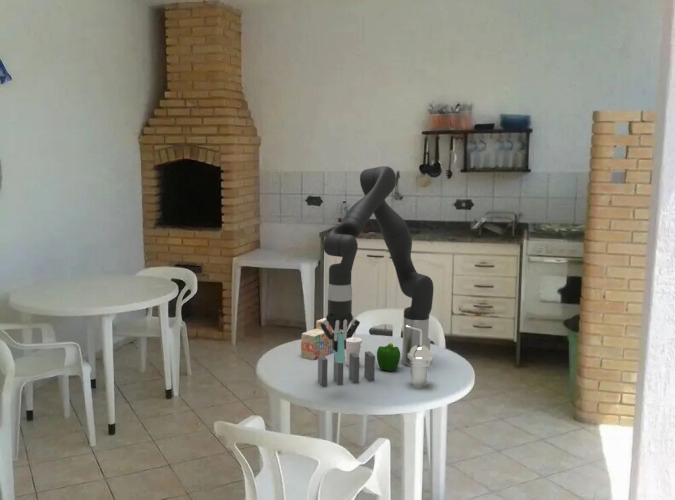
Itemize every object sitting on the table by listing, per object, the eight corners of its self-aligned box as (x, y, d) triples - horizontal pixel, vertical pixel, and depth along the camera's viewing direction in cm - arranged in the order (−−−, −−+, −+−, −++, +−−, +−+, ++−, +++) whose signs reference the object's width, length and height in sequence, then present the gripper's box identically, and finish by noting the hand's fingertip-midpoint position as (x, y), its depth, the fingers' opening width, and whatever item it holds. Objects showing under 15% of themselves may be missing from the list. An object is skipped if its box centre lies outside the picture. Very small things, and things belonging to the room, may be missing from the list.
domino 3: (338, 379, 217) (339, 353, 215) (343, 384, 212) (343, 358, 211) (333, 379, 216) (333, 354, 215) (337, 384, 212) (338, 358, 210)
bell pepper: (376, 365, 232) (376, 338, 231) (398, 365, 232) (399, 339, 230) (376, 372, 224) (377, 345, 222) (400, 373, 224) (401, 345, 222)
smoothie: (359, 368, 228) (360, 330, 225) (341, 367, 229) (342, 329, 227) (362, 363, 234) (363, 326, 232) (345, 361, 235) (346, 324, 233)
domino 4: (353, 377, 218) (354, 352, 217) (358, 383, 214) (359, 357, 212) (348, 378, 218) (349, 352, 216) (353, 383, 213) (354, 357, 212)
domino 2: (340, 361, 205) (338, 333, 205) (345, 362, 200) (343, 333, 201) (335, 362, 204) (333, 333, 205) (339, 363, 199) (338, 334, 200)
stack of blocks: (314, 360, 236) (314, 328, 234) (300, 357, 239) (301, 325, 237) (346, 347, 253) (347, 316, 251) (334, 344, 257) (334, 314, 255)
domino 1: (322, 380, 215) (323, 354, 214) (327, 385, 210) (327, 359, 209) (317, 381, 215) (318, 355, 213) (321, 386, 210) (322, 359, 209)
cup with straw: (421, 391, 207) (424, 331, 204) (399, 384, 213) (401, 326, 210) (436, 385, 213) (439, 326, 210) (414, 378, 219) (416, 321, 216)
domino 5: (369, 376, 220) (369, 351, 219) (374, 381, 215) (375, 355, 214) (364, 377, 219) (364, 351, 218) (369, 382, 215) (370, 356, 213)
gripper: (356, 293, 205) (355, 345, 208) (315, 296, 201) (315, 349, 204) (364, 299, 198) (363, 352, 201) (322, 301, 194) (321, 356, 197)
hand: (339, 350), depth 203 cm, fingers closed on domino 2, 1 cm apart
